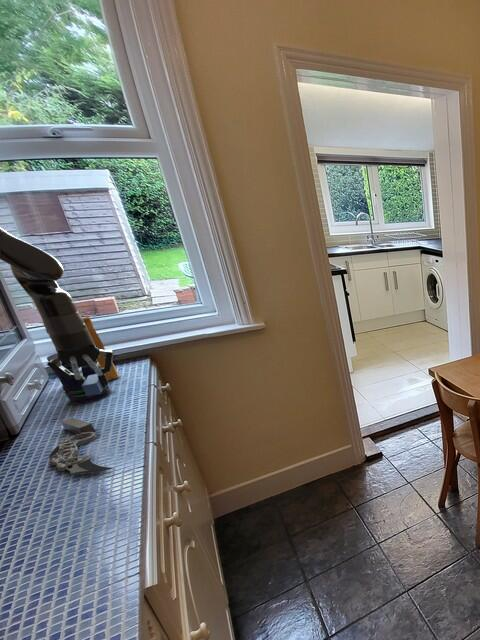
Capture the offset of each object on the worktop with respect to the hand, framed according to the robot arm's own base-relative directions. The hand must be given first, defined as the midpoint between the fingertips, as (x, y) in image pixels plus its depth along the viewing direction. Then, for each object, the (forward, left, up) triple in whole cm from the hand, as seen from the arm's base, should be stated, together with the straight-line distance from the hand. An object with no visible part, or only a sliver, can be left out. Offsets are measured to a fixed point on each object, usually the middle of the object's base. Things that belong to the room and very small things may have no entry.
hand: (96, 388), depth 117 cm
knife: (-16, -23, -8) cm, 29 cm away
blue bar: (0, 0, 0) cm, 0 cm away
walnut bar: (-9, -5, -8) cm, 13 cm away
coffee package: (+12, +36, -8) cm, 39 cm away
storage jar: (+4, +20, -8) cm, 22 cm away
